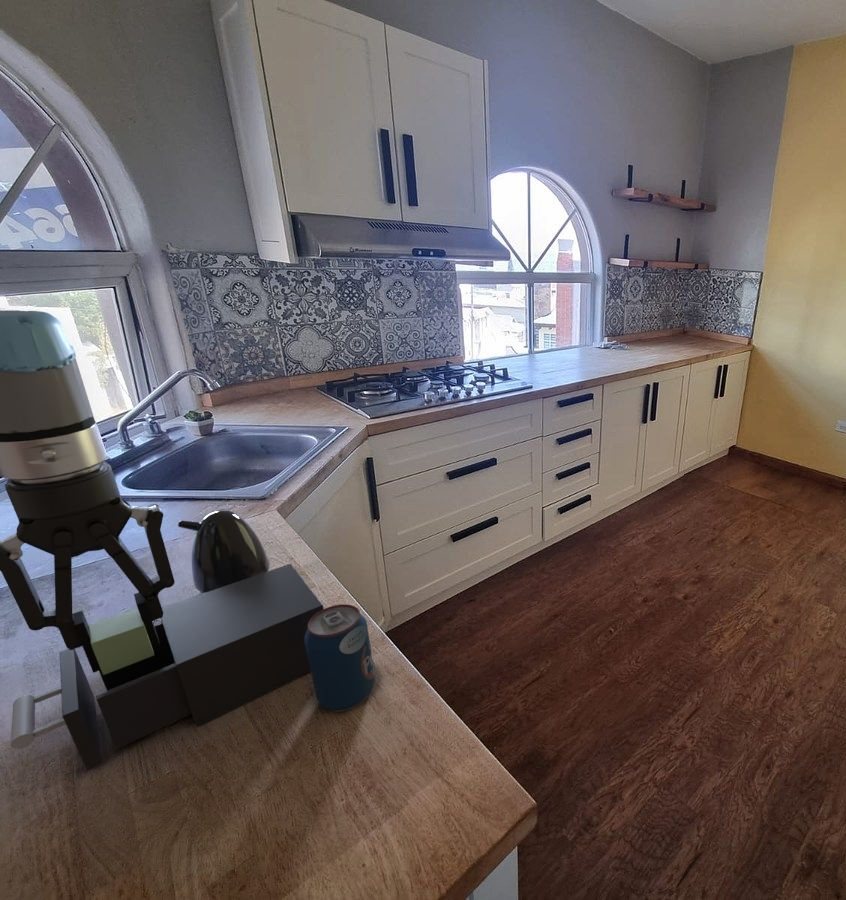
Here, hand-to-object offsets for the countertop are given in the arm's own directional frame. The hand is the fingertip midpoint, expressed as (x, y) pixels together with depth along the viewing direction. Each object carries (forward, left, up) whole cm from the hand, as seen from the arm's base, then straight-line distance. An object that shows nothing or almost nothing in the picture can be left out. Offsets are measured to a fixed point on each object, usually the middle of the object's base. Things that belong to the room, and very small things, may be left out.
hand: (126, 652), depth 59 cm
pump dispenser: (-20, +13, -9) cm, 26 cm away
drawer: (0, 0, -8) cm, 8 cm away
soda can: (+14, +18, -9) cm, 25 cm away
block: (0, 0, 0) cm, 0 cm away
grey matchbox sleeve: (0, +11, -9) cm, 15 cm away
